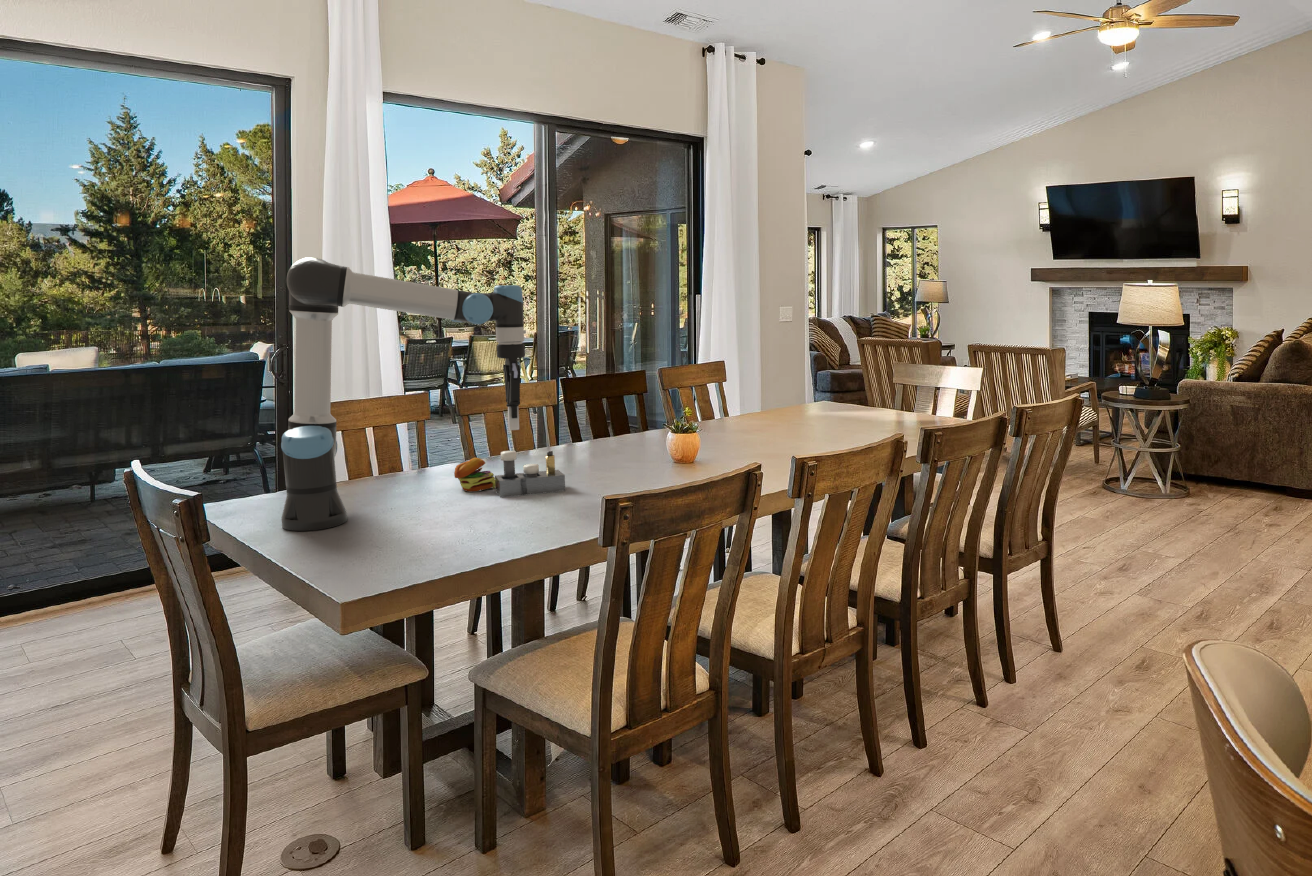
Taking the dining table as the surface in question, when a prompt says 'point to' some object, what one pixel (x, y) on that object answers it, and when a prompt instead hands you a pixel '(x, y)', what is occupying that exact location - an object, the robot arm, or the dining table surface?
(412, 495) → the dining table surface
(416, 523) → the dining table surface
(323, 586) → the dining table surface
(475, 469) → the cheeseburger
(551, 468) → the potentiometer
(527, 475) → the knob
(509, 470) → the knob
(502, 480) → the mount
